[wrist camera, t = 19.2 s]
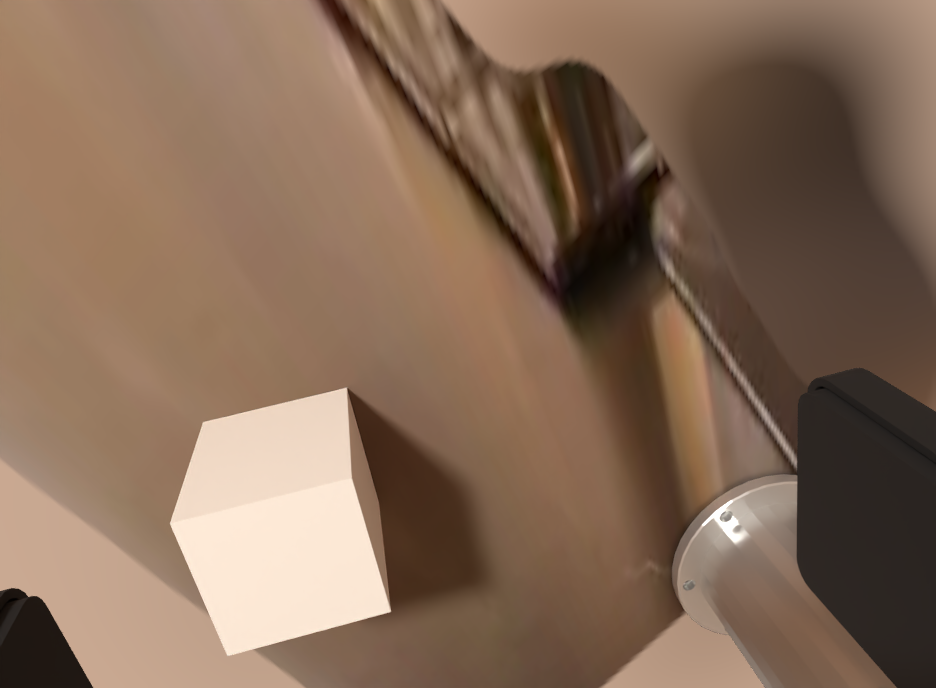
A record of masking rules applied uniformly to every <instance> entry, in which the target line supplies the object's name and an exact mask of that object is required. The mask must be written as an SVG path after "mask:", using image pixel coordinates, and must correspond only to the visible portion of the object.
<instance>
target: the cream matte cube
mask: <svg viewBox="0 0 936 688" xmlns="http://www.w3.org/2000/svg"><path fill="white" fill-rule="evenodd" d="M170 525H171V527H172V529H173V532H174V534H175V536H176V539H177V541H178V543H179V545H180V548H181V550H182V552H183V555H184V557H185V559H186V562H187V564H188V566H189V568H190V571H191V573H192V575H193V578H194V580H195V582H196V585H197V587H198V589H199V591H200V594H201V596H202V598H203V601H204V603H205V605H206V608H207V610H208V612H209V614H210V617H211V619H212V621H213V624H214V626H215V628H216V630H217V633H218V635H219V637H220V640H221V642H222V644H223V647H224V649H225V651H226V653H227V656H229V655H233V654H237V653H240V652H244V651H248V650H251V649H255V648H259V647H263V646H266V645H270V644H274V643H277V642H281V641H285V640H289V639H292V638H296V637H300V636H303V635H307V634H311V633H314V632H318V631H322V630H326V629H329V628H333V627H337V626H340V625H344V624H348V623H351V622H355V621H359V620H363V619H366V618H370V617H374V616H377V615H381V614H385V613H388V612H391V607H390V598H389V589H388V580H387V571H386V562H385V553H384V544H383V535H382V526H381V517H380V508H379V501H378V498H377V494H376V490H375V487H374V483H373V480H372V476H371V473H370V469H369V465H368V462H367V458H366V455H365V451H364V448H363V444H362V440H361V437H360V433H359V430H358V426H357V422H356V419H355V415H354V412H353V408H352V405H351V401H350V397H349V394H348V390H347V388H344V389H340V390H335V391H331V392H327V393H323V394H319V395H315V396H310V397H306V398H302V399H298V400H294V401H289V402H285V403H281V404H277V405H273V406H269V407H264V408H260V409H256V410H252V411H248V412H244V413H239V414H235V415H231V416H227V417H223V418H219V419H214V420H210V421H206V422H203V425H202V428H201V431H200V434H199V437H198V440H197V443H196V446H195V449H194V452H193V455H192V458H191V461H190V464H189V467H188V470H187V473H186V476H185V480H184V483H183V486H182V489H181V492H180V495H179V498H178V501H177V504H176V507H175V510H174V513H173V516H172V519H171V522H170Z"/></svg>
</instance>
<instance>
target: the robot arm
mask: <svg viewBox="0 0 936 688" xmlns="http://www.w3.org/2000/svg"><path fill="white" fill-rule="evenodd" d="M672 583H673V587H674V591H675V594H676V596H677V598H678V600H679V602H680V603H681V605H682V607H683V608H684V610H685V611H686V613H687V614H688V615H689V616H690V617H691V619H692V620H693V621H695V622H696V623H698V624H699V625H700V626H701V627H704V628H706V629H708V630H710V631H713V632H715V633H719V634H724V635H730V636H731V638H732V640H733V641H734V642H735V644H736V645H737V647H738V648H739V650H740V651H741V653H742V654H743V656H744V657H745V659H746V660H747V662H748V663H749V665H750V666H751V668H752V669H753V671H754V672H755V674H756V675H757V677H758V678H759V679H760V681H761V682H762V684H763V685H764V687H765V688H936V412H935V411H934V410H932V409H930V408H929V407H927V406H925V405H924V404H922V403H920V402H919V401H917V400H915V399H914V398H912V397H911V396H909V395H907V394H906V393H904V392H902V391H901V390H899V389H897V388H896V387H894V386H892V385H891V384H889V383H888V382H886V381H884V380H883V379H881V378H879V377H878V376H876V375H874V374H873V373H871V372H870V371H868V370H865V369H863V368H854V369H850V370H846V371H843V372H839V373H835V374H831V375H827V376H823V377H820V378H816V379H814V380H813V381H812V382H811V383H810V385H809V387H808V393H804V394H803V395H801V397H800V399H799V403H798V457H797V475H788V474H781V475H772V476H765V477H762V478H758V479H754V480H751V481H748V482H746V483H744V484H741V485H739V486H737V487H735V488H732V489H731V490H729V491H728V492H726V493H724V494H723V495H721V496H720V497H718V498H717V499H715V500H714V501H713V502H712V503H711V504H709V505H708V506H707V507H706V508H705V509H704V510H702V511H701V513H700V514H699V515H698V516H697V517H696V518H695V519H694V521H693V522H692V523H691V524H690V526H689V527H688V529H687V530H686V532H685V533H684V535H683V537H682V538H681V540H680V543H679V545H678V548H677V550H676V552H675V556H674V561H673V566H672ZM0 688H93V687H92V685H91V683H90V681H89V680H88V678H87V676H86V674H85V673H84V671H83V669H82V667H81V666H80V664H79V662H78V660H77V659H76V657H75V655H74V653H73V652H72V650H71V648H70V647H69V645H68V643H67V641H66V639H65V637H64V636H63V634H62V632H61V631H60V629H59V627H58V625H57V623H56V622H55V620H54V618H53V616H52V615H51V613H50V611H49V609H48V608H47V606H46V604H45V603H44V602H43V600H42V599H40V598H39V597H37V596H31V597H28V596H27V595H26V593H25V592H23V591H21V590H20V589H15V588H11V589H7V590H3V591H0Z"/></svg>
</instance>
